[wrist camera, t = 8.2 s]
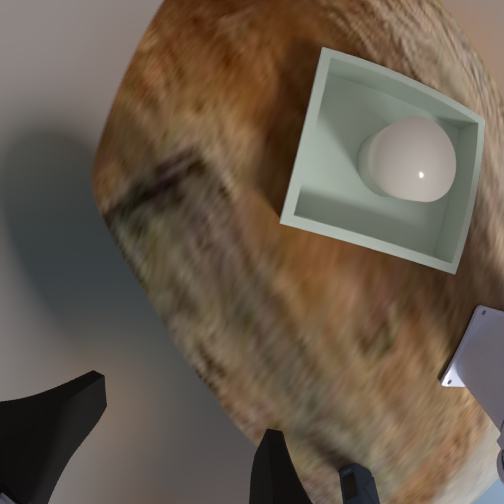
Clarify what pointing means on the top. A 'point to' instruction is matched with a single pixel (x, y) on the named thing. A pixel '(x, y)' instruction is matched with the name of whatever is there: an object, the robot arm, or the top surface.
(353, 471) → the vaping device
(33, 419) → the robot arm
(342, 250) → the top surface
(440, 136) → the white rounded cylinder
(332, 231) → the bus tub
